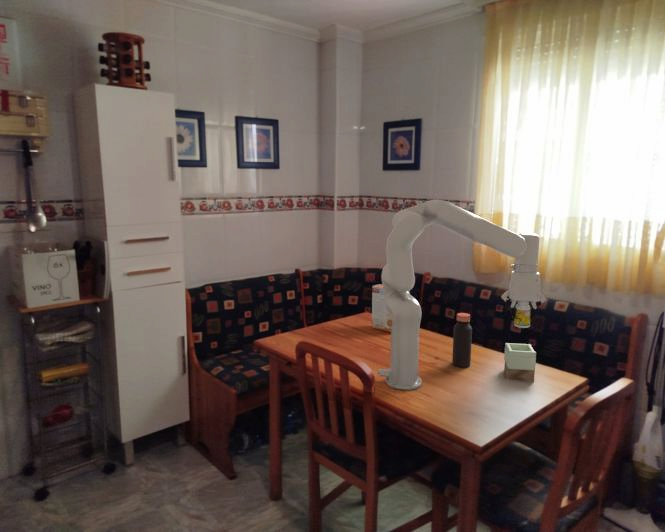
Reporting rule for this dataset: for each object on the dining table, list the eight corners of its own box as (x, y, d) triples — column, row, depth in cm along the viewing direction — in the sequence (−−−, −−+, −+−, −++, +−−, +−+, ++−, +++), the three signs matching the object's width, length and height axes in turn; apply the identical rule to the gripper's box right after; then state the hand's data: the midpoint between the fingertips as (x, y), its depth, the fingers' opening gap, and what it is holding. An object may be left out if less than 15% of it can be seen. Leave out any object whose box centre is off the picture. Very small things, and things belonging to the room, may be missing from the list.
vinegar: (470, 368, 185) (473, 317, 181) (452, 367, 186) (454, 316, 182) (469, 361, 191) (472, 312, 187) (451, 360, 192) (454, 311, 189)
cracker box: (402, 331, 229) (403, 287, 225) (395, 334, 224) (396, 290, 220) (379, 325, 238) (379, 283, 234) (371, 327, 234) (371, 285, 230)
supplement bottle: (533, 327, 173) (535, 300, 172) (521, 328, 171) (523, 302, 169) (521, 322, 178) (523, 297, 176) (510, 324, 176) (512, 298, 174)
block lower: (507, 380, 175) (507, 368, 174) (504, 370, 183) (504, 359, 182) (533, 382, 173) (534, 370, 172) (529, 372, 181) (530, 361, 180)
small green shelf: (508, 368, 174) (509, 351, 172) (504, 359, 182) (505, 342, 181) (535, 370, 172) (536, 352, 171) (529, 360, 181) (530, 344, 180)
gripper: (500, 269, 169) (497, 319, 173) (554, 271, 165) (550, 322, 169) (498, 265, 176) (496, 314, 180) (549, 267, 172) (546, 316, 176)
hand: (522, 317), depth 174 cm, fingers closed on supplement bottle, 5 cm apart
